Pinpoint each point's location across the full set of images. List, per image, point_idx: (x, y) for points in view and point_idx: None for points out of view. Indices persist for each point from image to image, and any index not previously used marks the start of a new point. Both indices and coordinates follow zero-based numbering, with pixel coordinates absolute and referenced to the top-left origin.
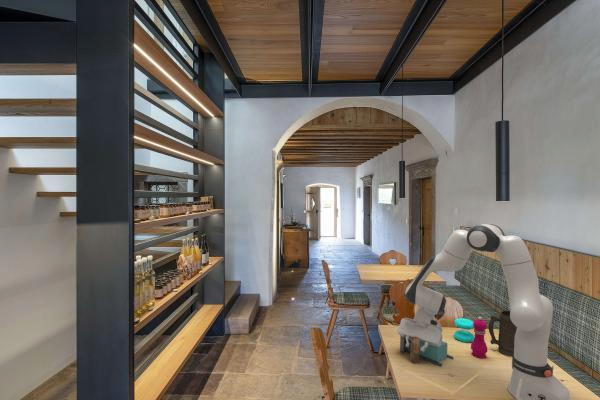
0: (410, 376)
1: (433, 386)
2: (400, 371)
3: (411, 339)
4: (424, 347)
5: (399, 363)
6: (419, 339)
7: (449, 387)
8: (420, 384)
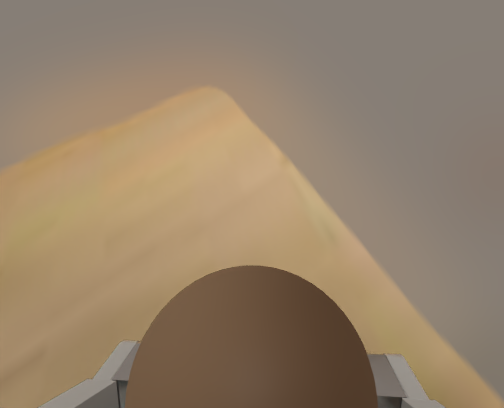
0: (227, 194)
1: (93, 179)
2: (299, 208)
3: (318, 296)
4: (87, 384)
5: (363, 307)
6: (136, 386)
7: (3, 220)
8: (159, 158)
